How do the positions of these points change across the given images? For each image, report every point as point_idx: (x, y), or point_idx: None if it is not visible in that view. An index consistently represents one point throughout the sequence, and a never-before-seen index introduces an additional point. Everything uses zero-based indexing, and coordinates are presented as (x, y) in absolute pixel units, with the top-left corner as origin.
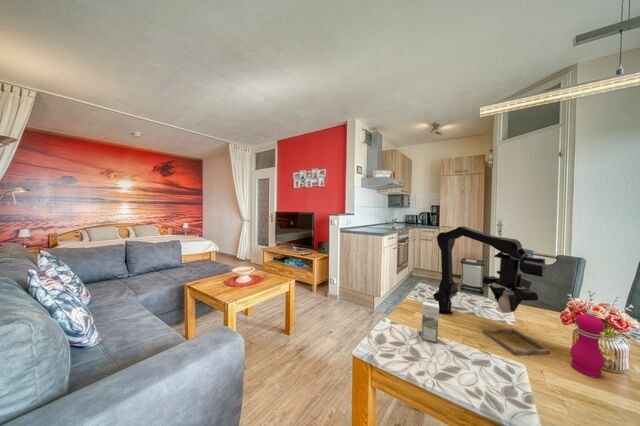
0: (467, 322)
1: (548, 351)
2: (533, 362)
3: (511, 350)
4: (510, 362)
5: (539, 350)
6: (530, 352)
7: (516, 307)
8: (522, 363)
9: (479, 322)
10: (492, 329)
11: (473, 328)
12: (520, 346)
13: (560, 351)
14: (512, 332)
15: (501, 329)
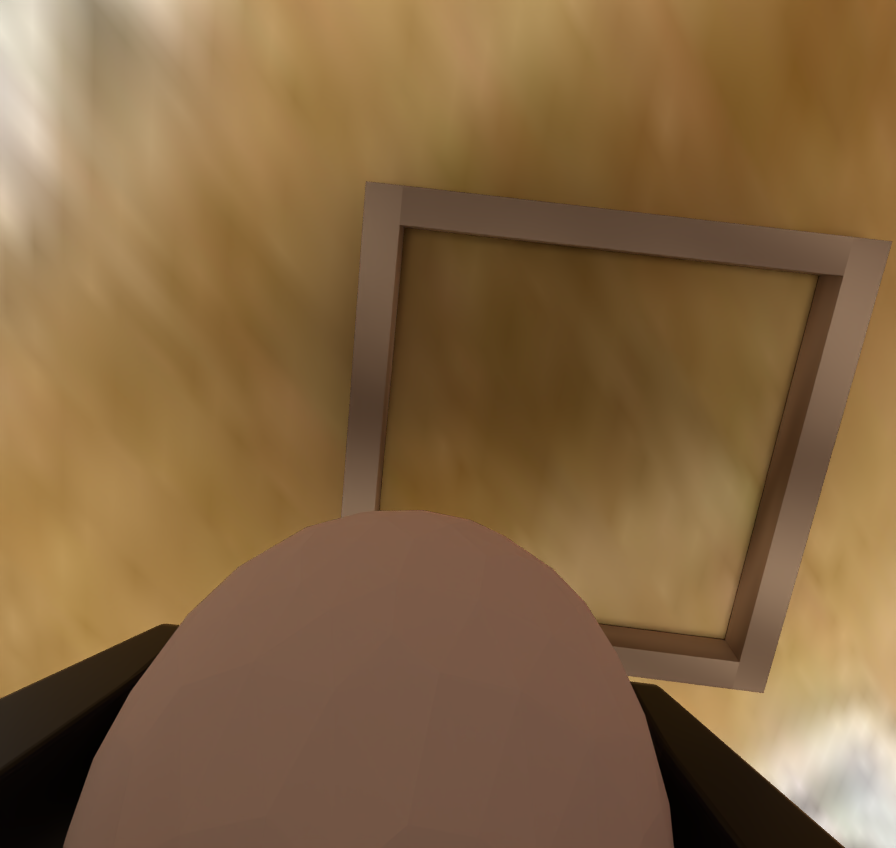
0: (116, 600)
1: (879, 271)
2: (879, 597)
3: (717, 680)
4: (800, 795)
5: (837, 385)
6: (807, 513)
7: (772, 811)
8: (848, 710)
9: (120, 448)
10: (342, 514)
11: None
12: (653, 450)
13: (883, 14)
14: (401, 237)
15: (360, 392)
